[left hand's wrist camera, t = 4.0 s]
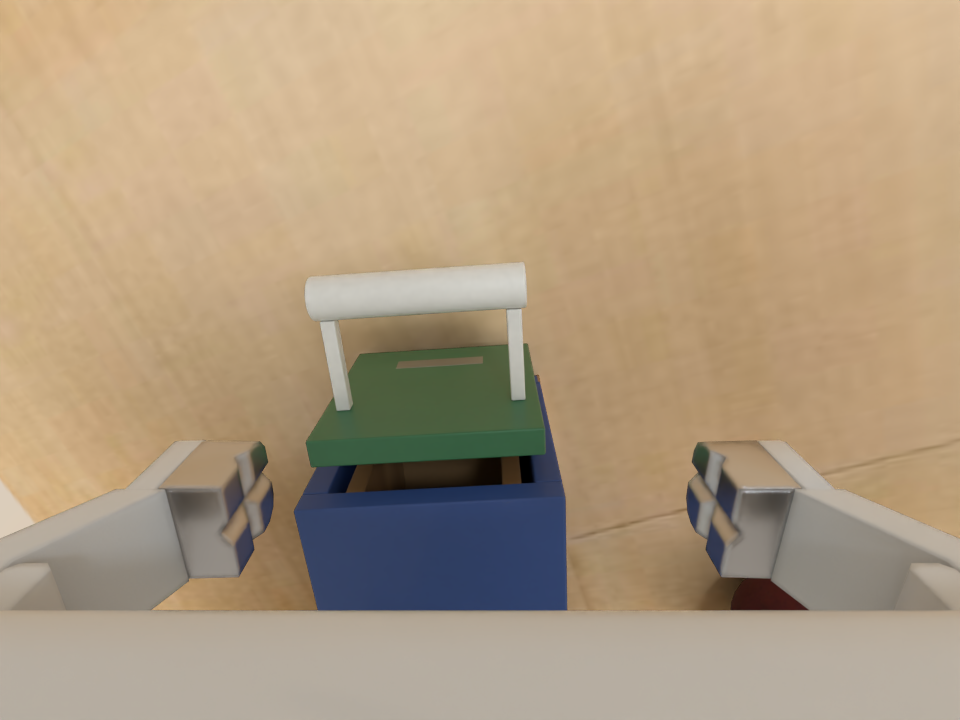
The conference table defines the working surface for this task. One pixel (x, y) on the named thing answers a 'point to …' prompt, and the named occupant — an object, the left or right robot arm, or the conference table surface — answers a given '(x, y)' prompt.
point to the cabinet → (438, 541)
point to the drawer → (427, 384)
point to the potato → (763, 596)
